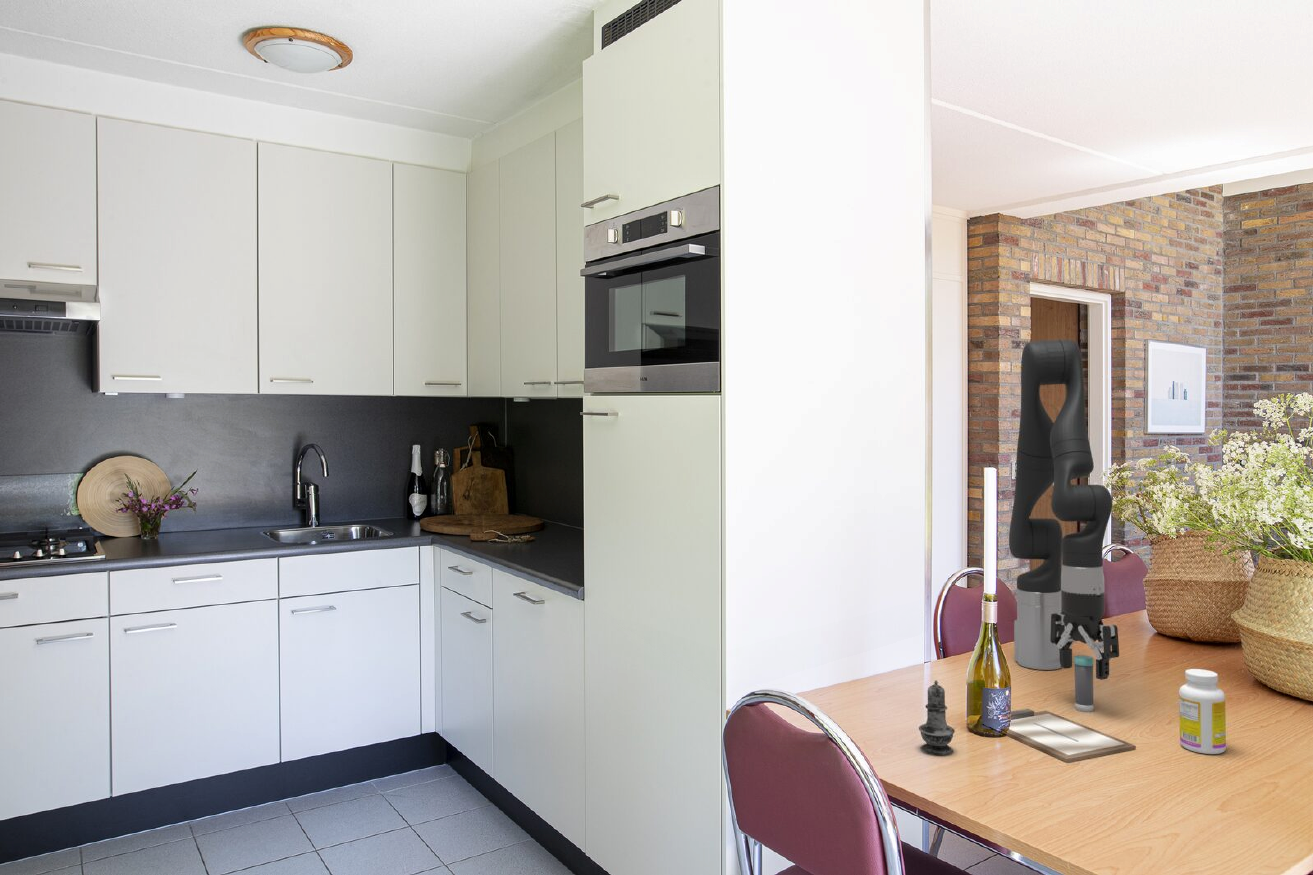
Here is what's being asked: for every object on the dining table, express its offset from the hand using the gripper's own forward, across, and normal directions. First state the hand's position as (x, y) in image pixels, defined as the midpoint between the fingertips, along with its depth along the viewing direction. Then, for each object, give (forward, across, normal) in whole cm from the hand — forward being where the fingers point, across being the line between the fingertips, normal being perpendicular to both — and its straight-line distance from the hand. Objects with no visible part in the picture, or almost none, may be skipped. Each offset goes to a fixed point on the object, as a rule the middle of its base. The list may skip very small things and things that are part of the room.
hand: (1083, 673), depth 170 cm
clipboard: (+7, +9, -16) cm, 19 cm away
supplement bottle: (+8, +23, +2) cm, 24 cm away
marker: (+7, 0, 0) cm, 7 cm away
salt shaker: (+8, +6, -39) cm, 40 cm away
